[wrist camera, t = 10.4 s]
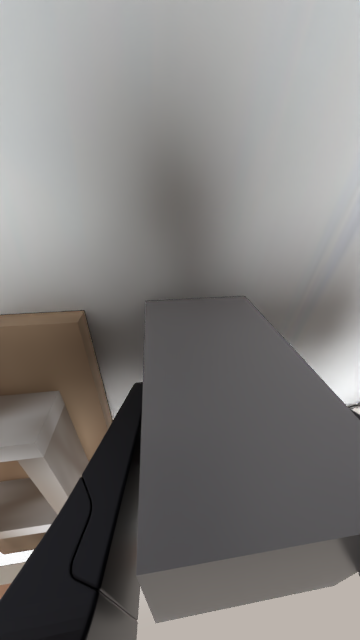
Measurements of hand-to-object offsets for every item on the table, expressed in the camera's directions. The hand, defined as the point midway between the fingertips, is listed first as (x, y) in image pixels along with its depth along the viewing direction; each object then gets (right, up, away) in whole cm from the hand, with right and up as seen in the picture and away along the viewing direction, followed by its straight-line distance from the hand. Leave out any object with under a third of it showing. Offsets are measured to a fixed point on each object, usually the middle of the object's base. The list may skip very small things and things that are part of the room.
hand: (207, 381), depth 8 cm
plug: (0, +1, +2) cm, 3 cm away
